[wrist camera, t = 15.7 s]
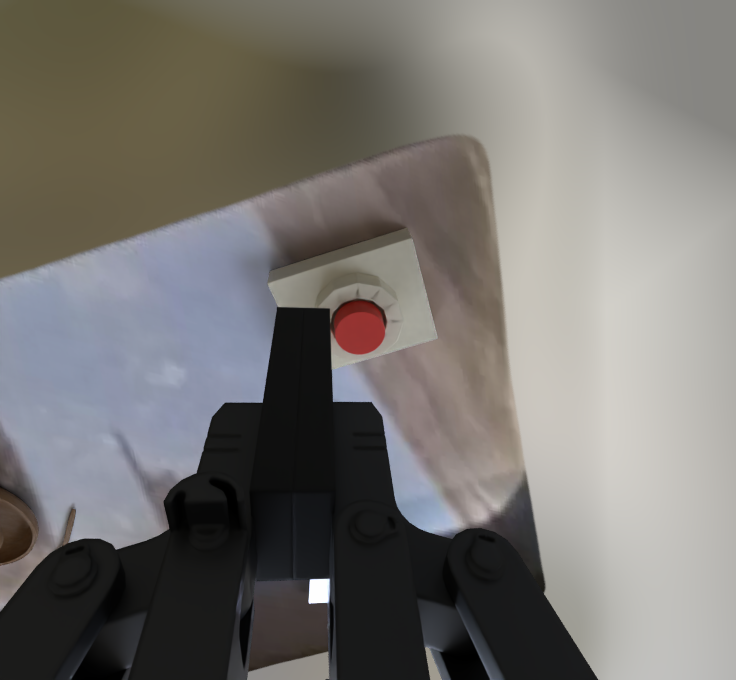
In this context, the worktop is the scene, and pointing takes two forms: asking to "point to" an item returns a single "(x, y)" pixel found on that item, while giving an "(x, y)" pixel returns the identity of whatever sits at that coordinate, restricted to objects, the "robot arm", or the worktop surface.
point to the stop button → (359, 327)
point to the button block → (363, 290)
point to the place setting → (20, 528)
